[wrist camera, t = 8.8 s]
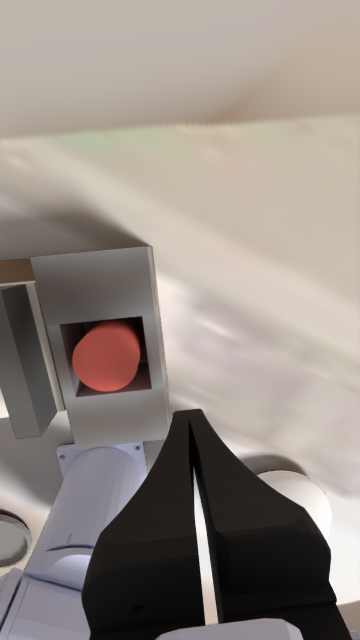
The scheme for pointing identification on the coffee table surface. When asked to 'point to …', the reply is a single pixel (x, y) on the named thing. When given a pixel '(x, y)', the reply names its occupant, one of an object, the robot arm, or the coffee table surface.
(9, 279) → the rail board
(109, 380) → the button
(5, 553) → the pocket watch
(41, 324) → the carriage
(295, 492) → the flower in vase
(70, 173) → the coffee table surface
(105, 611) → the robot arm
